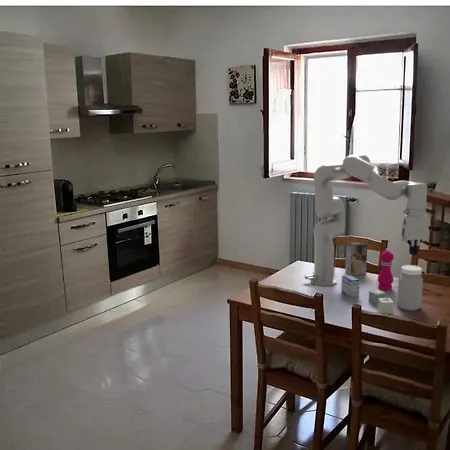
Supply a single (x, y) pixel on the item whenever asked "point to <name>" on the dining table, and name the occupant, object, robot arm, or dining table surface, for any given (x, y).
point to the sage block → (385, 305)
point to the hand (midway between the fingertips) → (413, 254)
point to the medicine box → (350, 286)
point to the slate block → (376, 296)
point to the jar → (410, 288)
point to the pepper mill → (386, 271)
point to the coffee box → (356, 258)
